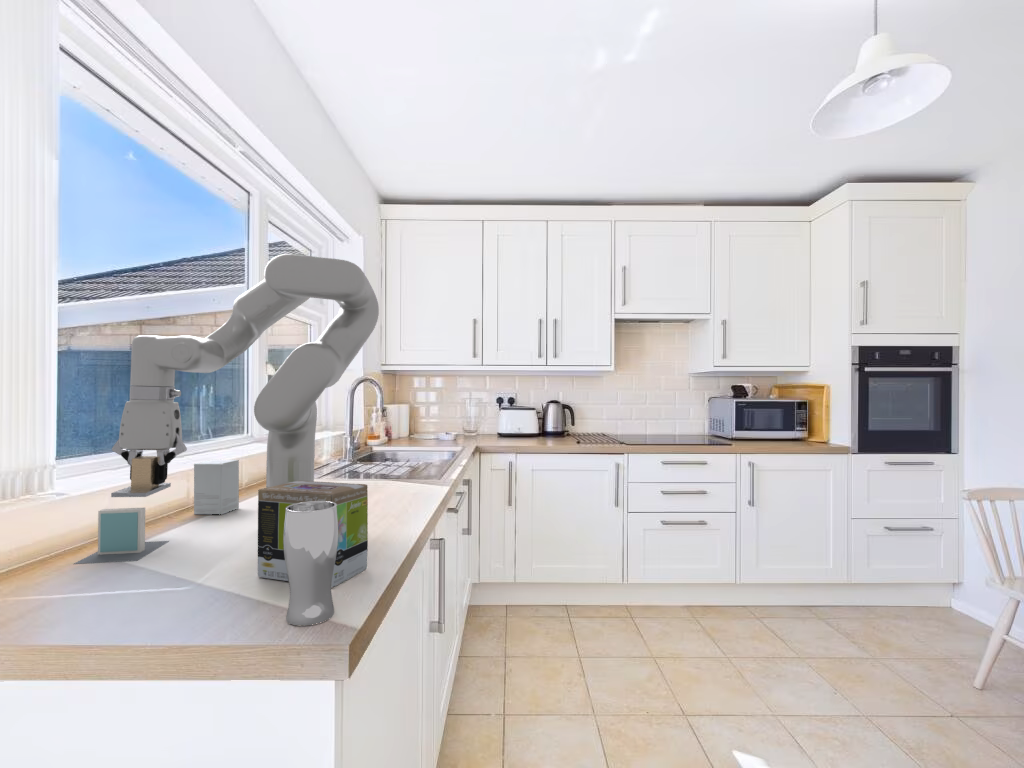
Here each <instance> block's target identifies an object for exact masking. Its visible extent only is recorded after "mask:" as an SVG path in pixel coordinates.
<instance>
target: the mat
mask: <svg viewBox="0 0 1024 768" xmlns="http://www.w3.org/2000/svg"><path fill="white" fill-rule="evenodd" d="M169 542H170V540H161V541H159V540H158V541H157V540H156V541H145V550H144V551H142V552H140V553H121V554H101V555H98V551H96V552H94V553H92V554H90V555H88V556H86V557H84V558H82V559H80V560H78V561H76V562H73V565H84V564H85V565H86V564H101V563H102V564H103V563H104V564H105V563H122V562H123V563H125V562H137V561H140V560H141V559H143V558H144V557H146V556H148V555H149V554H151V553H153V552H154V551H156V550H157V549H158V550H159V548H161V547H163V546H164V545H166V544H167V543H169Z"/></svg>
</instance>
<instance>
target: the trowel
mask: <svg viewBox="0 0 1024 768" xmlns="http://www.w3.org/2000/svg"><path fill="white" fill-rule="evenodd" d="M156 465H158V459H157V455H155V456H153V455H147V456H145V455H142V456H140V457H136V458H132V471H131V480H130V486H127V487H124V488H122V489H119V490H116V491H114V492H111V496H110V497H111V498H147V497H150V496H152V495H154V494H156V493H158V492H161V491H164V490H166V489H167V488H171V484H172V482H164V483H162V484H159V485H155V484H154V481H155V466H156Z"/></svg>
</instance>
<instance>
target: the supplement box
mask: <svg viewBox="0 0 1024 768" xmlns="http://www.w3.org/2000/svg"><path fill="white" fill-rule="evenodd" d="M239 463H240V461H239V459H210V460H205V461H200V462H196V463H194V464H193V514H194V515H212V514H219V516H220V514H221V515H225V514H227V513H229V511H230V512H233V511H236V510H238V509H239V507H240V504H239V503H240V501H239V500H240V493H239V492H240V490H239V489H240V482H239V481H240V476H239V474H240V466H239ZM235 509H236V510H235ZM232 510H233V511H232Z"/></svg>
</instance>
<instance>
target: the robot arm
mask: <svg viewBox="0 0 1024 768" xmlns="http://www.w3.org/2000/svg"><path fill="white" fill-rule="evenodd" d="M263 276H264V279H263V280H261V281H260V282H258V283H257V284H255V285H254V286H252V287H251V288H249V289H248V290H247V291H244V292H243V293H242V294H240V295H239V296H238V297H236V299H234V302H233V305H232V311H231V314H230V317H229V318H228V319H227V321H226V322H225V323H223V324H222V326H220V327H218V328H217V329H216V330H214V331H213V332H212V333H209V335H207V336H206V337H205V338H204V337H199V336H193V335H175V336H165V335H164V336H162V335H150V334H147V335H145V334H144V335H137V336H135V337H133V339H132V341H131V354H130V356H131V357H130V358H131V359H130V380H129V381H130V382H129V383H130V384H129V401H126V402H125V404H124V407H123V411H122V414H121V420H120V425H119V432H118V433H119V435H118V439H117V441H115V442H114V445H113V446H112V448H111V451H112V452H114V453H115V454H117V455H119V456H121V457H122V458H123V460H125V461H126V462H127V465H128V466H130V468H129V471H130V472H129V479H130V481H131V471H132V458H136V457H140V456H143V454H144V451H156V456H157V459H158V465H156V466H155V481H154V484H155V485H159V484H162V483H166V480H167V479H168V469H169V468H168V467H169V464H170V463H171V461H172V460H174V459H175V458H176V457H178V456H180V455H182V454H183V453H185V452H186V451H188V448H187V445H186V444H185V443H184V441H183V429H182V428H183V426H182V416H181V410H180V406H179V402H177V401H175V399H176V398H177V397H178V398H179V397H181V396H182V391H181V390H178V389H176V387H175V375H176V371H179V372H185V373H200V374H209V373H213V372H216V371H218V370H220V369H222V368H224V367H225V366H227V365H228V364H230V363H231V362H232V361H234V360H235V359H237V358H238V357H240V356H241V355H242V354H243V353H244V352H246V351H247V350H248V349H250V347H251V346H252V345H253V344H255V342H256V341H257V340H258V339H259V338H260V337H261V335H262V334H263V333H265V331H267V330H268V329H270V328H271V327H272V326H273V325H274V324H276V323H277V322H279V321H280V320H281V319H283V318H284V317H286V316H287V315H288V314H291V312H293V311H294V310H296V309H297V308H298V307H300V306H302V305H303V304H304V303H305V302H307V301H308V300H309V299H310V298H311V299H321V300H331V301H335V302H336V303H337V304H338V306H339V310H338V314H337V315H336V316H334V318H332V320H331V321H330V322H329V323H328V324H327V326H326V328H325V329H324V331H323V332H322V333H321V335H320V336H319V337H318V338H317V339H316V341H311V342H306V343H303V344H301V345H299V346H297V347H296V348H295V349H294V350H292V351H291V353H290V354H288V356H287V357H286V358H285V360H284V361H283V363H281V365H280V366H279V367H278V369H277V370H276V371H275V372H274V374H273V375H272V377H271V378H270V379H269V380H268V382H267V383H266V384H265V385H264V387H263V388H262V389H261V390H260V392H259V394H258V396H257V397H256V399H255V402H254V406H253V413H254V417H255V420H256V422H257V423H258V425H259V426H260V427H261V428H263V429H264V430H266V431H268V434H267V442H266V443H267V444H266V469H265V470H266V474H265V475H266V477H265V478H266V479H265V480H266V481H265V482H266V483H265V484H266V486H265V488H267V487H272V486H277V485H281V484H286V483H290V482H295V481H315V450H316V449H315V447H316V446H315V445H316V429H317V419H318V408H317V407H318V405H317V400H318V399H319V398H320V396H321V395H322V394H323V392H324V391H325V390H326V389H328V388H330V387H332V386H334V385H336V383H338V382H339V381H340V379H341V378H342V376H343V374H344V373H345V371H346V370H347V369H348V368H349V366H350V364H351V363H352V362H353V361H354V359H355V358H356V356H357V355H358V353H359V352H360V351H361V349H362V347H363V346H364V345H365V344H366V342H367V340H368V339H369V338H370V336H371V335H372V333H373V332H374V330H375V328H376V326H377V323H378V320H379V314H380V312H379V311H380V307H379V302H378V301H379V300H378V299H377V298H378V297H377V296H376V293H375V291H374V289H373V286H372V284H371V282H370V281H369V279H368V278H367V276H366V275H365V271H363V269H362V268H360V266H358V265H357V264H356V263H354V262H352V261H349V260H345V259H340V258H332V257H331V258H330V257H322V256H321V257H320V256H313V255H304V254H303V255H302V254H293V253H285V254H284V253H283V254H279V255H276V256H274V257H272V258H271V259H270V260H269V261H268V262H267V264H266V265H265V268H264V271H263ZM171 449H173V450H172V451H170V450H171Z"/></svg>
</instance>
